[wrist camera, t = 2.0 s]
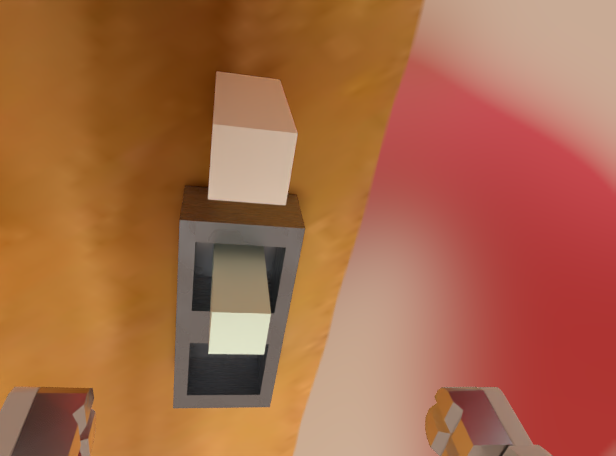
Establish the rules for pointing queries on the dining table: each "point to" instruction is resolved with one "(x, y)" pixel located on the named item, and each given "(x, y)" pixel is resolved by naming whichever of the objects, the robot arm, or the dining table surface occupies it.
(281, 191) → the block
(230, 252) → the beige peg
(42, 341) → the dining table surface
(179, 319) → the grey peg holder
